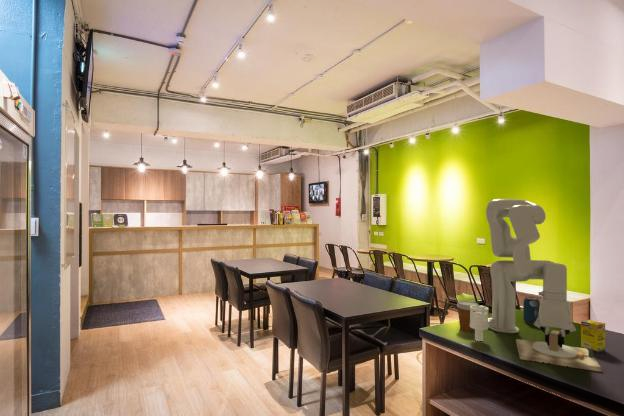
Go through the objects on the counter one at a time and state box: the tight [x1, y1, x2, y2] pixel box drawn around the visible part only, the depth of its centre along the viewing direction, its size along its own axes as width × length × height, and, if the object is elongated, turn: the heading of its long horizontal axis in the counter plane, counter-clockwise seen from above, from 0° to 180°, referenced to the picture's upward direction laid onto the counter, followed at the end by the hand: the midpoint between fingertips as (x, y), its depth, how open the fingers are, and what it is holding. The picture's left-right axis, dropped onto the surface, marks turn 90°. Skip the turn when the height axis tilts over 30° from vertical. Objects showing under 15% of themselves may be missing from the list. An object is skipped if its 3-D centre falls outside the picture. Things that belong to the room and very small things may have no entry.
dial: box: [533, 329, 583, 358], centre depth 141 cm, size 14×16×7 cm
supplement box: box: [580, 319, 606, 354], centre depth 149 cm, size 6×6×11 cm
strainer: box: [470, 304, 489, 342], centre depth 157 cm, size 7×7×15 cm
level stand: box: [515, 338, 602, 372], centre depth 141 cm, size 24×20×4 cm
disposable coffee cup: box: [456, 300, 479, 332], centre depth 173 cm, size 10×10×12 cm
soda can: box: [522, 296, 540, 325], centre depth 186 cm, size 7×7×12 cm
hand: (554, 345), depth 141 cm, fingers closed on dial, 3 cm apart
